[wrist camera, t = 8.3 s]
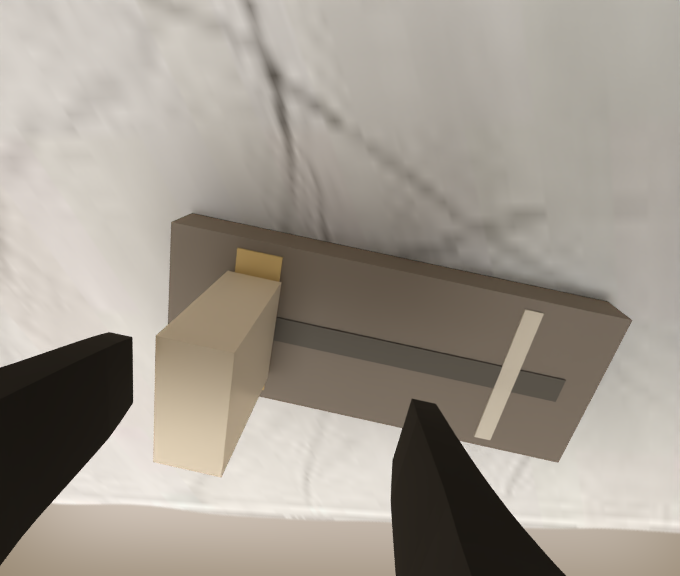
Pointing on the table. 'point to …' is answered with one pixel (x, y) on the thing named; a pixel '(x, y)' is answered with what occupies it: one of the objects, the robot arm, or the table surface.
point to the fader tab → (212, 372)
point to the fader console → (411, 335)
